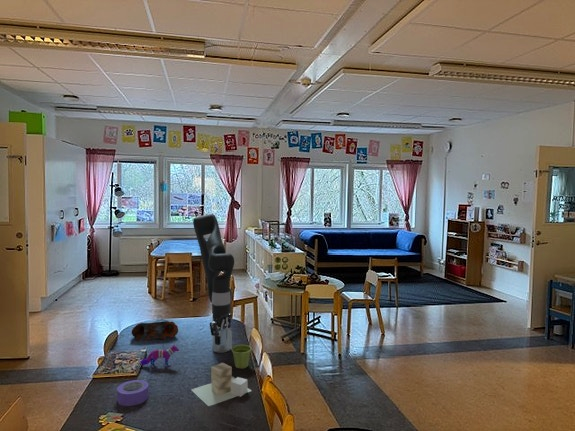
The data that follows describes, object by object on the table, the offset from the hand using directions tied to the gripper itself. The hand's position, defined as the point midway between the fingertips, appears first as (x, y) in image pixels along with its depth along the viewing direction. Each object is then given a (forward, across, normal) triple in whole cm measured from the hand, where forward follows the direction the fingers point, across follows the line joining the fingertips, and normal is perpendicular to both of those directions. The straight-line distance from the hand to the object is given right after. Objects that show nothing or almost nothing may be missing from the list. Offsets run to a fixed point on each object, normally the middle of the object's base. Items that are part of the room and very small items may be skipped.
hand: (221, 342), depth 169 cm
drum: (+1, 0, 0) cm, 1 cm away
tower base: (+21, 0, 0) cm, 21 cm away
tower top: (+16, 0, 0) cm, 16 cm away
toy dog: (+21, -9, -39) cm, 45 cm away
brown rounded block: (+22, -40, -68) cm, 82 cm away
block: (+21, -1, +8) cm, 22 cm away
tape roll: (+22, +19, -29) cm, 41 cm away
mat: (+21, 0, 0) cm, 21 cm away
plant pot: (+21, -24, -3) cm, 32 cm away
